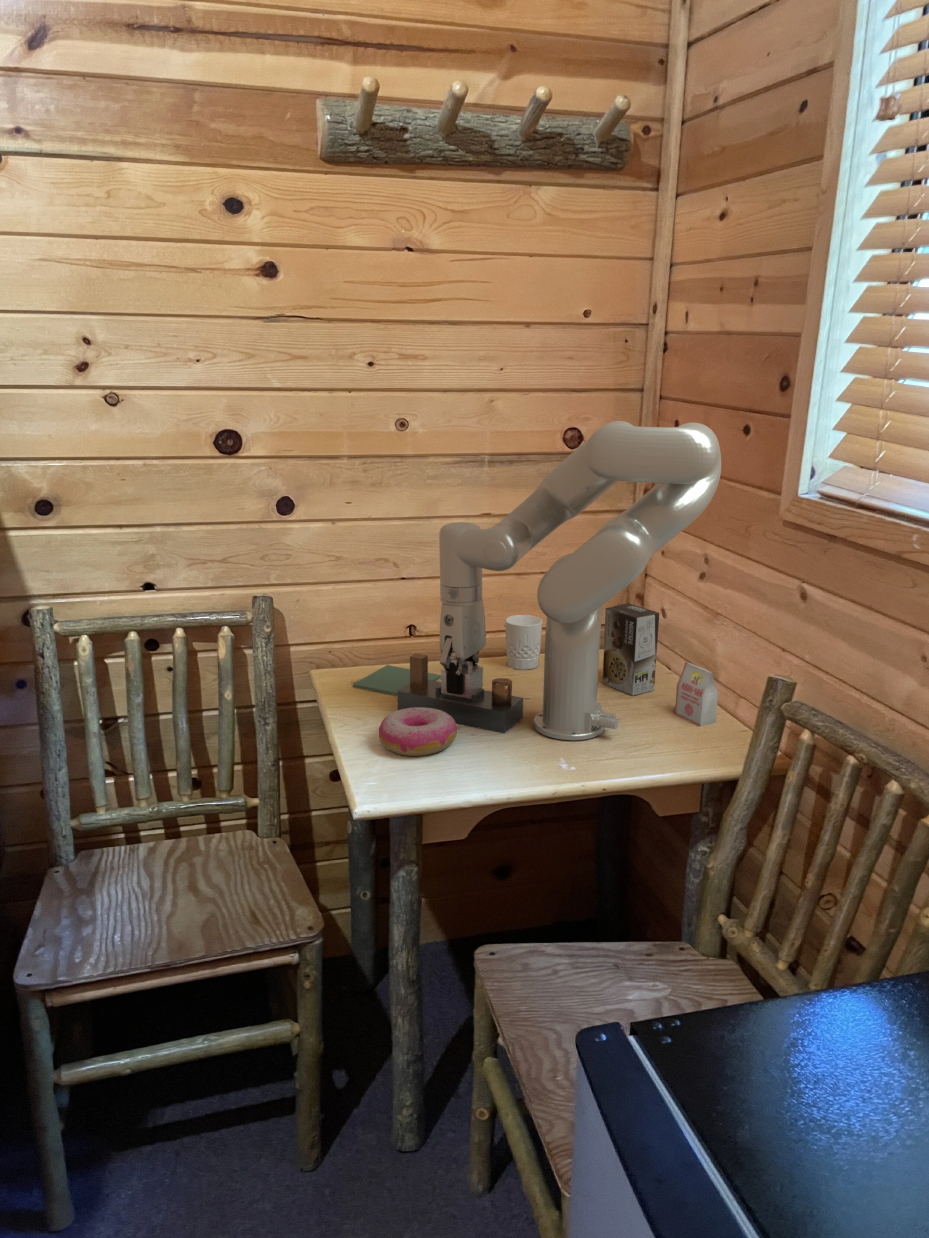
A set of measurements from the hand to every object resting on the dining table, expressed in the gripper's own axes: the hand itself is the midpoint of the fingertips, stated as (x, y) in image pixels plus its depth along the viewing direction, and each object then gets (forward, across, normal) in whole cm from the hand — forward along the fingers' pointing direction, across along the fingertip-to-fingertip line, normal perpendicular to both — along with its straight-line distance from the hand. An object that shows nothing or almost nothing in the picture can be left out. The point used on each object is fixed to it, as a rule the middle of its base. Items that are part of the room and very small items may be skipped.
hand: (462, 687), depth 169 cm
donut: (+6, -15, +1) cm, 16 cm away
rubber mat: (+5, +9, +20) cm, 22 cm away
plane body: (+5, 0, 0) cm, 5 cm away
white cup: (+6, +31, +2) cm, 31 cm away
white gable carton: (+6, +19, -38) cm, 43 cm away
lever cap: (+1, 0, 0) cm, 1 cm away
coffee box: (+6, +29, -22) cm, 37 cm away
